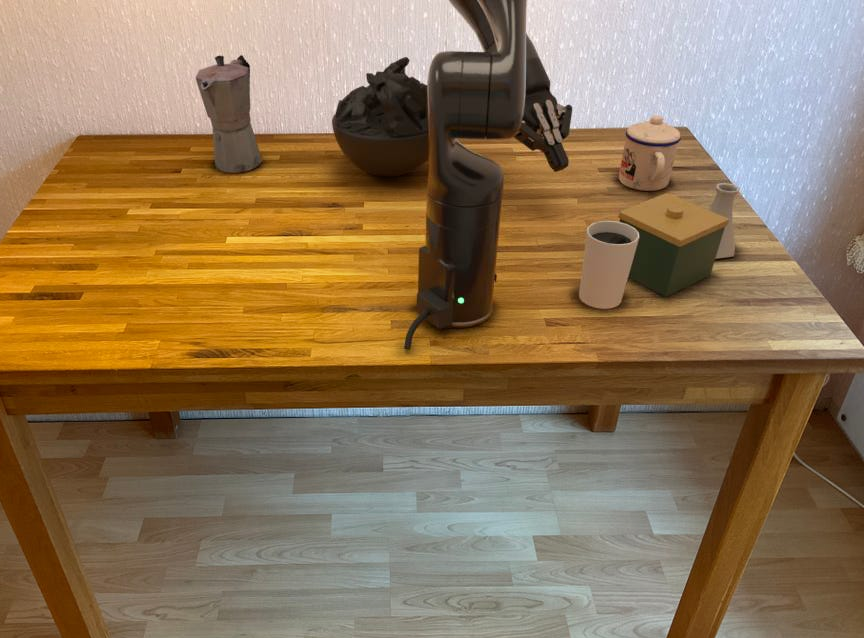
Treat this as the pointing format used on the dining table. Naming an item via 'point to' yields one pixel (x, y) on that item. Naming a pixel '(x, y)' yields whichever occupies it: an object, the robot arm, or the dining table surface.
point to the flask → (724, 208)
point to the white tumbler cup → (607, 263)
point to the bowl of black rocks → (385, 123)
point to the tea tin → (673, 242)
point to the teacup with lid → (649, 155)
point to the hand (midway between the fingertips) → (562, 168)
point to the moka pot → (230, 114)
